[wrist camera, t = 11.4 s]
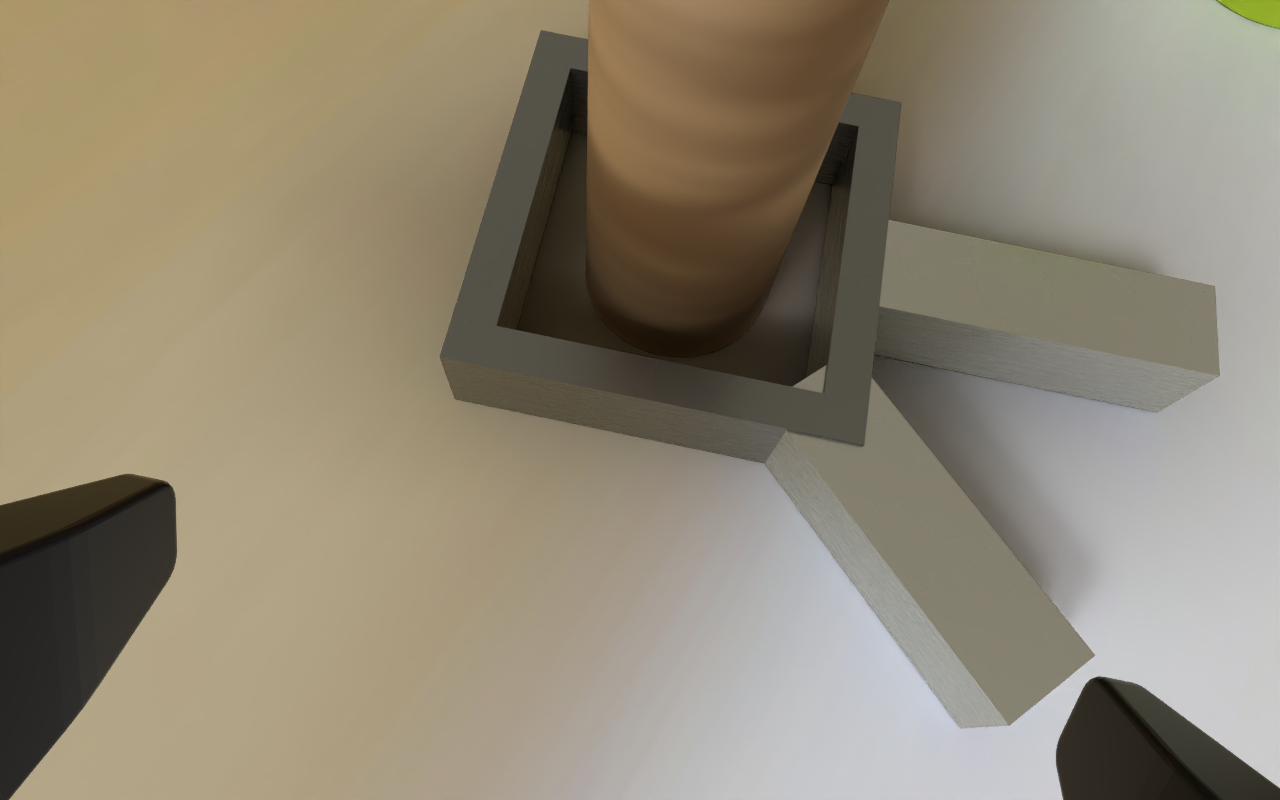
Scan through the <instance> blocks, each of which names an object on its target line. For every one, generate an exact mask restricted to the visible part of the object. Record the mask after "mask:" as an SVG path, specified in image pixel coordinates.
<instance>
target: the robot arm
mask: <svg viewBox="0 0 1280 800" xmlns="http://www.w3.org/2000/svg"><path fill="white" fill-rule="evenodd" d="M176 557H177V534H176V498H175V492H174V490H173V487H172V486H171V485H170V484H169V483H168V482H166V481H163V480H158V479H153V478H149V477H144V476H139V475H134V474H123V475H119V476H115V477H111V478H107V479H103V480H99V481H95V482H91V483H87V484H83V485H79V486H75V487H71V488H67V489H63V490H59V491H55V492H51V493H47V494H43V495H39V496H36V497H32V498H28V499H24V500H20V501H16V502H12V503H8V504H4V505H0V800H9V799H10V798H11V796H12V795H13V794H14V793H15V792H16V790H17V789H18V788H19V787H20V785H21V784H22V783H23V782H24V781H25V779H26V778H27V777H28V776H29V774H30V773H31V772H32V771H33V770H34V768H35V767H36V766H37V765H38V764H39V762H40V761H41V760H42V759H43V757H44V756H45V755H46V754H47V753H48V751H49V750H50V749H51V748H52V746H53V745H54V744H55V743H56V742H57V740H58V739H59V738H60V737H61V735H62V734H63V733H64V732H65V731H66V729H67V728H68V727H69V725H70V724H71V723H72V722H73V720H74V719H75V718H76V717H77V715H78V714H79V713H80V711H81V710H82V709H83V707H84V706H85V705H86V703H87V702H88V700H89V699H90V698H91V696H92V695H93V693H94V692H95V690H96V689H97V688H98V686H99V685H100V683H101V682H102V680H103V679H104V677H105V676H106V674H107V673H108V671H109V670H110V668H111V666H112V665H113V663H114V662H115V660H116V659H117V657H118V656H119V654H120V653H121V651H122V650H123V648H124V647H125V645H126V644H127V642H128V641H129V639H130V638H131V636H132V635H133V633H134V632H135V630H136V629H137V627H138V626H139V624H140V623H141V621H142V619H143V618H144V616H145V615H146V613H147V612H148V610H149V609H150V607H151V606H152V604H153V603H154V601H155V600H156V598H157V597H158V595H159V594H160V592H161V591H162V589H163V588H164V586H165V585H166V583H167V582H168V580H169V578H170V576H171V574H172V572H173V569H174V566H175V563H176ZM1056 766H1057V772H1058V776H1059V781H1060V786H1061V791H1062V796H1063V800H1280V788H1279V787H1277V786H1276V785H1275V784H1273V783H1272V782H1271V781H1269V780H1268V779H1266V778H1265V777H1264V776H1262V775H1261V774H1260V773H1258V772H1257V771H1256V770H1254V769H1253V768H1252V767H1250V766H1249V765H1248V764H1246V763H1245V762H1244V761H1242V760H1241V759H1239V758H1238V757H1237V756H1235V755H1234V754H1233V753H1231V752H1230V751H1229V750H1227V749H1226V748H1225V747H1223V746H1222V745H1221V744H1219V743H1218V742H1217V741H1215V740H1214V739H1212V738H1211V737H1210V736H1208V735H1207V734H1206V733H1204V732H1203V731H1202V730H1200V729H1199V728H1198V727H1196V726H1195V725H1194V724H1192V723H1191V722H1190V721H1188V720H1187V719H1185V718H1184V717H1183V716H1181V715H1180V714H1179V713H1177V712H1176V711H1175V710H1173V709H1172V708H1171V707H1169V706H1168V705H1167V704H1165V703H1164V702H1163V701H1161V700H1160V699H1159V698H1157V697H1156V696H1154V695H1153V694H1152V693H1150V692H1149V691H1148V690H1146V689H1145V688H1143V687H1142V686H1140V685H1138V684H1135V683H1131V682H1126V681H1121V680H1117V679H1112V678H1107V677H1101V676H1098V677H1095V678H1092V679H1090V680H1089V681H1088V682H1087V683H1086V685H1085V686H1084V688H1083V690H1082V692H1081V694H1080V696H1079V698H1078V700H1077V702H1076V704H1075V706H1074V708H1073V711H1072V713H1071V715H1070V717H1069V719H1068V721H1067V723H1066V725H1065V727H1064V729H1063V731H1062V733H1061V736H1060V738H1059V741H1058V745H1057V749H1056Z"/></svg>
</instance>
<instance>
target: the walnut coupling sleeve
mask: <svg viewBox="0 0 1280 800" xmlns="http://www.w3.org/2000/svg"><path fill="white" fill-rule="evenodd" d="M888 2H889V0H589V34H588V115H587V196H586V284H587V289H588V292H589V296H590V299H591V301H592V303H593V306H594V308H595V309H596V311H597V313H598V314H599V316H600V317H601V318H602V320H603V321H604V322H605V324H606V325H607V326H608V327H609V328H610V329H611V330H612V331H613V332H614V333H616V334H617V335H618V336H620V337H621V338H622V339H624V340H625V341H627V342H628V343H630V344H632V345H634V346H635V347H638V348H640V349H643V350H645V351H648V352H651V353H655V354H658V355H664V356H670V357H691V356H698V355H703V354H708V353H711V352H714V351H717V350H719V349H721V348H723V347H725V346H727V345H729V344H731V343H732V342H734V341H735V340H737V339H738V338H740V337H741V336H742V335H743V334H744V333H745V332H746V331H747V330H748V329H749V328H750V327H751V325H752V324H753V323H754V322H755V320H756V318H757V317H758V315H759V314H760V311H761V309H762V307H763V304H764V302H765V300H766V297H767V295H768V292H769V290H770V288H771V285H772V283H773V280H774V278H775V275H776V273H777V271H778V268H779V266H780V263H781V261H782V259H783V256H784V254H785V251H786V249H787V246H788V244H789V242H790V239H791V237H792V234H793V232H794V230H795V227H796V225H797V222H798V220H799V217H800V215H801V213H802V210H803V208H804V205H805V203H806V200H807V198H808V196H809V193H810V191H811V188H812V186H813V184H814V181H815V179H816V176H817V174H818V171H819V169H820V167H821V164H822V162H823V159H824V157H825V155H826V152H827V150H828V147H829V145H830V142H831V140H832V138H833V135H834V133H835V130H836V128H837V126H838V123H839V121H840V118H841V116H842V113H843V111H844V109H845V106H846V104H847V101H848V99H849V96H850V94H851V92H852V89H853V87H854V84H855V82H856V80H857V77H858V75H859V72H860V70H861V67H862V65H863V63H864V60H865V58H866V55H867V53H868V51H869V48H870V46H871V43H872V41H873V38H874V36H875V34H876V31H877V29H878V26H879V24H880V21H881V19H882V17H883V14H884V12H885V9H886V7H887V5H888Z"/></svg>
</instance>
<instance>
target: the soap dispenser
mask: <svg viewBox="0 0 1280 800" xmlns="http://www.w3.org/2000/svg"><path fill="white" fill-rule="evenodd" d="M1218 1H1219V2H1220V3H1222V4H1223V5H1224V6H1226V7H1227V8H1229V9H1231V10H1232V11H1234V12H1236V13H1238V14H1240V15H1241V16H1244V17H1246V18H1248V19H1250V20H1253V21H1255V22H1258V23H1261V24H1264V25H1268V26H1272V27H1276V28H1280V0H1218Z"/></svg>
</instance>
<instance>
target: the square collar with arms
mask: <svg viewBox="0 0 1280 800" xmlns="http://www.w3.org/2000/svg"><path fill="white" fill-rule="evenodd" d="M900 111H901V103H900V102H895V101H890V100H885V99H880V98H875V97H870V96H865V95H860V94H855V93H851V94H850V96H849V99H848V101H847V104H846V106H845V109H844V111H843V113H842V116H841V118H840V121H839V123H838V126H837V128H836V130H835V133H834V135H833V138H832V140H831V142H830V145H829V147H828V150H827V152H826V155H825V157H824V159H823V162H822V164H821V167H820V169H819V171H818V174H817V176H816V179H815V181H816V182H821V183H826V184H831V185H832V193H831V200H830V207H829V214H828V222H827V229H826V236H825V243H824V251H823V258H822V265H821V272H820V279H819V287H818V294H817V301H816V308H815V316H814V323H813V330H812V337H811V345H810V352H809V359H808V366H807V373H806V378H805V379H804V380H802V381H800V382H799V383H797V384H796V385H794V386H792V387H791V386H786V385H781V384H776V383H771V382H766V381H761V380H757V379H752V378H747V377H742V376H737V375H732V374H728V373H723V372H718V371H713V370H708V369H703V368H698V367H694V366H689V365H684V364H679V363H674V362H669V361H664V360H660V359H655V358H650V357H645V356H640V355H635V354H631V353H626V352H621V351H616V350H611V349H606V348H601V347H597V346H592V345H587V344H582V343H577V342H572V341H567V340H563V339H558V338H553V337H548V336H543V335H538V334H534V333H529V332H524V331H519V330H516V329H517V326H518V322H519V319H520V315H521V311H522V308H523V304H524V301H525V297H526V293H527V290H528V286H529V283H530V279H531V275H532V272H533V268H534V265H535V261H536V257H537V254H538V250H539V247H540V243H541V239H542V236H543V232H544V229H545V225H546V221H547V218H548V214H549V211H550V207H551V203H552V200H553V196H554V193H555V189H556V185H557V182H558V178H559V175H560V171H561V167H562V164H563V160H564V157H565V153H566V149H567V146H568V142H569V139H570V135H571V132H574V133H579V134H584V135H587V115H588V40H587V39H582V38H577V37H572V36H567V35H562V34H557V33H552V32H547V31H542V30H541V32H540V35H539V38H538V41H537V45H536V48H535V51H534V54H533V58H532V61H531V64H530V67H529V70H528V74H527V77H526V80H525V83H524V87H523V90H522V93H521V96H520V100H519V103H518V106H517V109H516V112H515V116H514V119H513V122H512V125H511V129H510V132H509V135H508V138H507V141H506V145H505V148H504V151H503V154H502V158H501V161H500V164H499V167H498V171H497V174H496V177H495V180H494V183H493V187H492V190H491V193H490V196H489V200H488V203H487V206H486V209H485V212H484V216H483V219H482V222H481V225H480V229H479V232H478V235H477V238H476V241H475V245H474V248H473V251H472V254H471V258H470V261H469V264H468V267H467V271H466V274H465V277H464V280H463V283H462V287H461V290H460V293H459V296H458V300H457V303H456V306H455V309H454V312H453V316H452V319H451V322H450V325H449V329H448V332H447V335H446V338H445V342H444V345H443V348H442V351H441V354H440V359H441V362H442V365H443V367H444V370H445V373H446V376H447V379H448V381H449V384H450V387H451V390H452V393H453V395H454V398H455V399H457V400H462V401H467V402H472V403H477V404H482V405H486V406H491V407H496V408H501V409H506V410H511V411H515V412H520V413H525V414H530V415H535V416H539V417H544V418H549V419H554V420H559V421H564V422H568V423H573V424H578V425H583V426H588V427H592V428H597V429H602V430H607V431H612V432H617V433H621V434H626V435H631V436H636V437H641V438H645V439H650V440H655V441H660V442H665V443H670V444H674V445H679V446H684V447H689V448H694V449H698V450H703V451H708V452H713V453H718V454H723V455H727V456H732V457H737V458H742V459H747V460H752V461H756V462H761V463H765V464H766V465H767V467H768V468H769V469H770V471H771V472H772V473H773V475H774V476H775V477H776V479H777V480H778V482H779V483H780V484H781V486H782V487H783V488H784V490H785V491H786V492H787V494H788V495H789V496H790V498H791V499H792V501H793V502H794V503H795V505H796V506H797V507H798V509H799V510H800V511H801V513H802V514H803V515H804V517H805V518H806V520H807V521H808V522H809V524H810V525H811V526H812V528H813V529H814V530H815V532H816V533H817V534H818V536H819V537H820V539H821V540H822V541H823V543H824V544H825V545H826V547H827V548H828V549H829V551H830V552H831V553H832V555H833V556H834V558H835V559H836V560H837V562H838V563H839V564H840V566H841V567H842V568H843V570H844V571H845V572H846V574H847V575H848V576H849V578H850V579H851V581H852V582H853V583H854V585H855V586H856V587H857V589H858V590H859V591H860V593H861V594H862V595H863V597H864V598H865V600H866V601H867V602H868V604H869V605H870V606H871V608H872V609H873V610H874V612H875V613H876V614H877V616H878V617H879V619H880V620H881V621H882V623H883V624H884V625H885V627H886V628H887V629H888V631H889V632H890V633H891V635H892V636H893V638H894V639H895V640H896V642H897V643H898V644H899V646H900V647H901V648H902V650H903V651H904V652H905V654H906V655H907V657H908V658H909V659H910V661H911V662H912V663H913V665H914V666H915V667H916V669H917V670H918V671H919V673H920V674H921V675H922V677H923V678H924V680H925V681H926V682H927V684H928V685H929V686H930V688H931V689H932V690H933V692H934V693H935V694H936V696H937V697H938V699H939V700H940V701H941V703H942V704H943V705H944V707H945V708H946V709H947V711H948V712H949V713H950V715H951V716H952V718H953V719H954V720H955V722H956V723H957V724H958V726H959V727H960V728H974V727H992V726H1009V725H1010V724H1012V723H1013V722H1014V721H1015V720H1017V719H1018V718H1019V717H1020V716H1021V715H1023V714H1024V713H1025V712H1026V711H1028V710H1029V709H1030V708H1031V707H1033V706H1034V705H1035V704H1036V703H1037V702H1039V701H1040V700H1041V699H1042V698H1044V697H1045V696H1046V695H1047V694H1048V693H1050V692H1051V691H1052V690H1053V689H1055V688H1056V687H1057V686H1058V685H1059V684H1061V683H1062V682H1063V681H1064V680H1066V679H1067V678H1068V677H1069V676H1071V675H1072V674H1073V673H1074V672H1075V671H1077V670H1078V669H1079V668H1080V667H1082V666H1083V665H1084V664H1085V663H1086V662H1088V661H1089V660H1090V659H1091V658H1093V657H1094V656H1095V654H1094V653H1093V652H1092V651H1091V649H1090V648H1089V647H1088V646H1087V645H1086V643H1085V642H1084V641H1083V640H1082V638H1081V637H1080V636H1079V635H1078V633H1077V632H1076V631H1075V630H1074V628H1073V627H1072V626H1071V625H1070V623H1069V622H1068V621H1067V620H1066V618H1065V617H1064V616H1063V615H1062V613H1061V612H1060V611H1059V610H1058V608H1057V607H1056V606H1055V605H1054V603H1053V602H1052V601H1051V600H1050V598H1049V597H1048V596H1047V595H1046V593H1045V592H1044V591H1043V590H1042V589H1041V587H1040V586H1039V585H1038V584H1037V582H1036V581H1035V580H1034V579H1033V577H1032V576H1031V575H1030V574H1029V572H1028V571H1027V570H1026V569H1025V567H1024V566H1023V565H1022V564H1021V562H1020V561H1019V560H1018V559H1017V557H1016V556H1015V555H1014V554H1013V552H1012V551H1011V550H1010V549H1009V547H1008V546H1007V545H1006V544H1005V542H1004V541H1003V540H1002V539H1001V538H1000V536H999V535H998V534H997V533H996V531H995V530H994V529H993V528H992V526H991V525H990V524H989V523H988V521H987V520H986V519H985V518H984V516H983V515H982V514H981V513H980V511H979V510H978V509H977V508H976V506H975V505H974V504H973V503H972V501H971V500H970V499H969V498H968V496H967V495H966V494H965V493H964V491H963V490H962V489H961V488H960V486H959V485H958V484H957V483H956V482H955V480H954V479H953V478H952V477H951V475H950V474H949V473H948V472H947V470H946V469H945V468H944V467H943V465H942V464H941V463H940V462H939V460H938V459H937V458H936V457H935V455H934V454H933V453H932V452H931V450H930V449H929V448H928V447H927V445H926V444H925V443H924V442H923V440H922V439H921V438H920V437H919V435H918V434H917V433H916V432H915V430H914V429H913V428H912V427H911V426H910V424H909V423H908V422H907V421H906V419H905V418H904V417H903V416H902V414H901V413H900V412H899V411H898V409H897V408H896V407H895V406H894V404H893V403H892V402H891V401H890V399H889V398H888V397H887V396H886V394H885V393H884V392H883V391H882V389H881V388H880V387H879V386H878V384H877V383H876V382H875V381H874V379H873V378H872V370H873V361H874V354H875V355H880V356H885V357H890V358H894V359H899V360H904V361H909V362H914V363H919V364H924V365H929V366H933V367H938V368H943V369H948V370H953V371H958V372H963V373H967V374H972V375H977V376H982V377H987V378H992V379H997V380H1002V381H1006V382H1011V383H1016V384H1021V385H1026V386H1031V387H1036V388H1040V389H1045V390H1050V391H1055V392H1060V393H1065V394H1070V395H1075V396H1079V397H1084V398H1089V399H1094V400H1099V401H1104V402H1109V403H1114V404H1118V405H1123V406H1128V407H1133V408H1138V409H1143V410H1148V411H1152V412H1158V411H1160V410H1162V409H1164V408H1165V407H1167V406H1169V405H1170V404H1172V403H1174V402H1176V401H1177V400H1179V399H1181V398H1182V397H1184V396H1186V395H1188V394H1189V393H1191V392H1193V391H1194V390H1196V389H1198V388H1200V387H1201V386H1203V385H1205V384H1206V383H1208V382H1210V381H1212V380H1213V379H1215V378H1217V377H1218V376H1220V375H1219V355H1218V336H1217V317H1216V298H1215V286H1212V285H1207V284H1202V283H1197V282H1193V281H1188V280H1183V279H1178V278H1173V277H1168V276H1163V275H1158V274H1153V273H1148V272H1143V271H1138V270H1133V269H1129V268H1124V267H1119V266H1114V265H1109V264H1104V263H1099V262H1094V261H1089V260H1084V259H1079V258H1074V257H1070V256H1065V255H1060V254H1055V253H1050V252H1045V251H1040V250H1035V249H1030V248H1025V247H1020V246H1015V245H1011V244H1006V243H1001V242H996V241H991V240H986V239H981V238H976V237H971V236H966V235H961V234H956V233H951V232H947V231H942V230H937V229H932V228H927V227H922V226H917V225H912V224H907V223H902V222H897V221H892V220H889V213H890V203H891V194H892V185H893V176H894V166H895V157H896V148H897V139H898V129H899V120H900Z"/></svg>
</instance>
